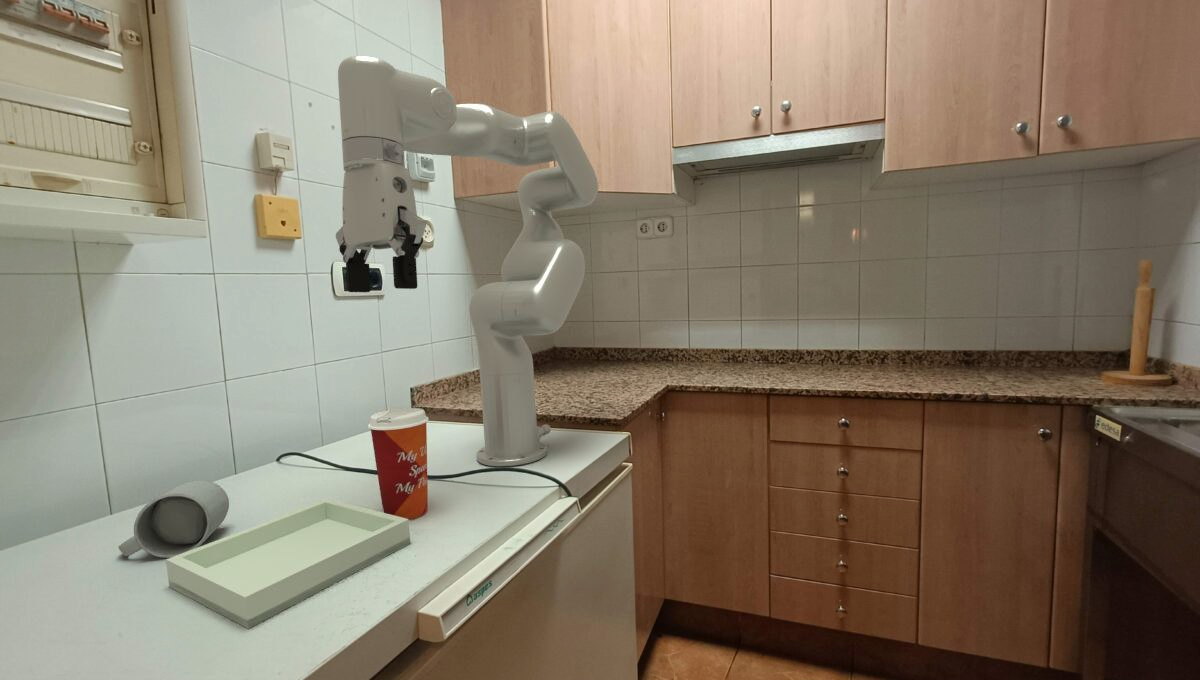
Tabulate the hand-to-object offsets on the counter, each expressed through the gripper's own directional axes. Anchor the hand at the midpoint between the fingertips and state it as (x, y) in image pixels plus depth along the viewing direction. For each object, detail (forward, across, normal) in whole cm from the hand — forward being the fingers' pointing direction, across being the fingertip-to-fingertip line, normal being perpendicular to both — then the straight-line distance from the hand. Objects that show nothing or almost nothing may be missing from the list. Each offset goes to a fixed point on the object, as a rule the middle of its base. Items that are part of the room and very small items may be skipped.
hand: (381, 290), depth 70 cm
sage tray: (+31, -2, +14) cm, 34 cm away
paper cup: (+31, -1, -1) cm, 31 cm away
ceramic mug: (+31, +17, +19) cm, 40 cm away
